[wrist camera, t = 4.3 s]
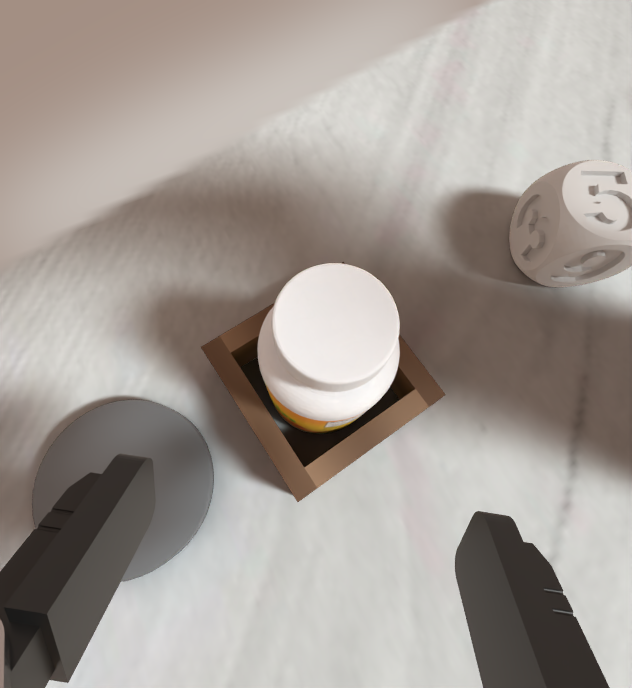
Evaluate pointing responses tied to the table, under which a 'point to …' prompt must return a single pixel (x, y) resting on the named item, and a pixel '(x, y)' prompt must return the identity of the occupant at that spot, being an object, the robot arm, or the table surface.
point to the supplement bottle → (329, 347)
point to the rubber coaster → (146, 441)
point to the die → (574, 225)
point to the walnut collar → (227, 361)
